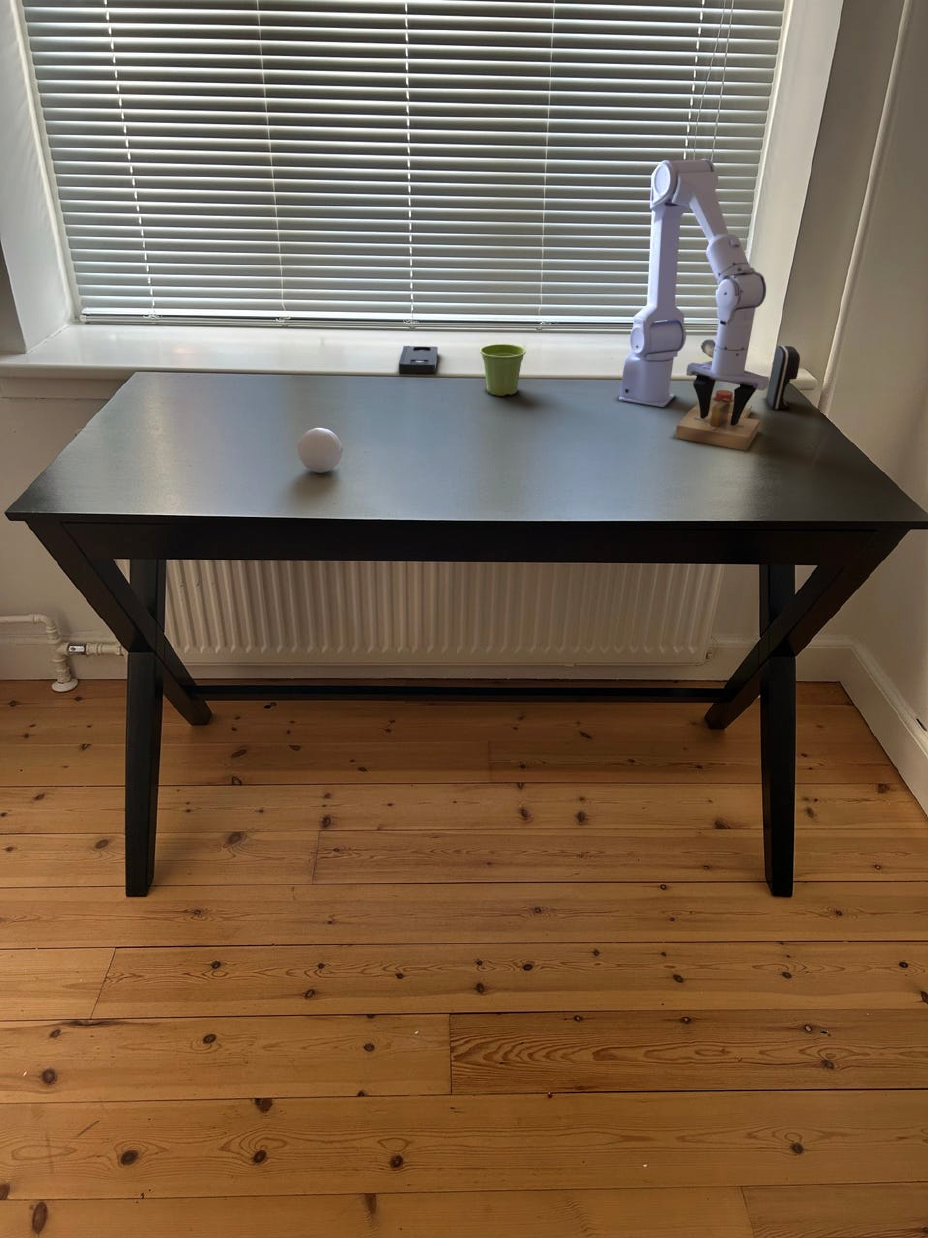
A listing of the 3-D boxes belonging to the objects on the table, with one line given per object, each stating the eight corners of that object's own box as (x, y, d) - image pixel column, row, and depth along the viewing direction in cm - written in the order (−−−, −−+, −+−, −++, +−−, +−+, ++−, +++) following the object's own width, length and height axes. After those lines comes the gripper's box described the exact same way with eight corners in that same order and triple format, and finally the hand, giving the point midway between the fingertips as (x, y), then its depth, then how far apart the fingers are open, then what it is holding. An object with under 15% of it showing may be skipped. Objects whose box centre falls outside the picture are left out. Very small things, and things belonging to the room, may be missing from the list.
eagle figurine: (738, 363, 199) (700, 350, 201) (744, 341, 192) (705, 329, 194) (725, 388, 196) (687, 375, 198) (731, 367, 190) (692, 354, 192)
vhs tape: (434, 373, 195) (434, 364, 193) (399, 372, 195) (398, 363, 194) (437, 354, 207) (437, 346, 205) (404, 354, 207) (403, 345, 206)
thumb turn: (716, 426, 160) (720, 406, 158) (709, 425, 161) (713, 404, 159) (727, 419, 164) (731, 399, 162) (720, 417, 165) (723, 397, 162)
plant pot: (472, 395, 182) (473, 353, 177) (488, 382, 189) (489, 341, 185) (515, 401, 179) (517, 358, 174) (529, 387, 187) (532, 346, 182)
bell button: (712, 402, 172) (714, 393, 171) (716, 397, 174) (718, 388, 173) (729, 404, 170) (731, 396, 169) (733, 400, 173) (734, 391, 172)
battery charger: (791, 411, 175) (803, 353, 169) (771, 410, 176) (783, 352, 170) (784, 399, 181) (796, 343, 175) (765, 398, 182) (776, 342, 175)
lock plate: (674, 438, 163) (676, 424, 161) (689, 421, 170) (691, 408, 169) (746, 450, 158) (748, 436, 156) (757, 432, 165) (760, 419, 164)
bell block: (690, 416, 173) (692, 401, 171) (700, 404, 179) (703, 389, 177) (742, 424, 169) (744, 409, 167) (750, 412, 175) (753, 397, 173)
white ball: (345, 478, 146) (342, 435, 142) (300, 481, 145) (296, 438, 141) (341, 455, 155) (338, 414, 151) (298, 457, 153) (294, 417, 149)
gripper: (780, 348, 154) (765, 422, 161) (702, 334, 161) (691, 406, 169) (765, 357, 149) (750, 433, 157) (686, 342, 157) (675, 416, 164)
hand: (719, 420), depth 162 cm, fingers open, 5 cm apart
